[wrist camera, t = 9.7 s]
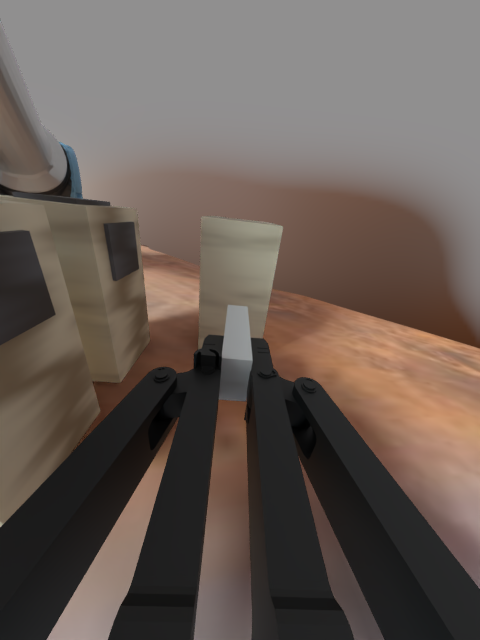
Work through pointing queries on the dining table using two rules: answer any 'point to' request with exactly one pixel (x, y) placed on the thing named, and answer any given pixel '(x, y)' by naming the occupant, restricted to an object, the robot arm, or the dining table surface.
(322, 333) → the dining table surface
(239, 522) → the dining table surface
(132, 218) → the marked block 1
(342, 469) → the robot arm
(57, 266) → the marked block 2
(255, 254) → the plain block
